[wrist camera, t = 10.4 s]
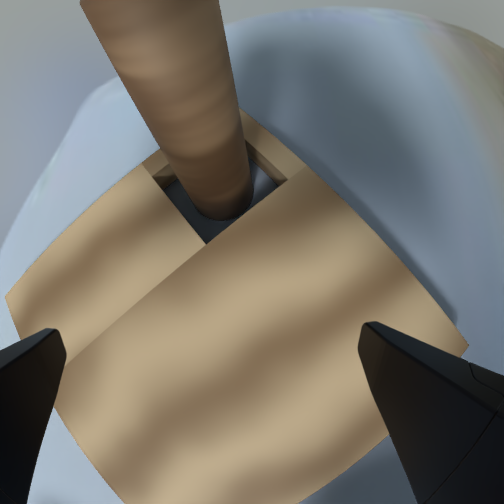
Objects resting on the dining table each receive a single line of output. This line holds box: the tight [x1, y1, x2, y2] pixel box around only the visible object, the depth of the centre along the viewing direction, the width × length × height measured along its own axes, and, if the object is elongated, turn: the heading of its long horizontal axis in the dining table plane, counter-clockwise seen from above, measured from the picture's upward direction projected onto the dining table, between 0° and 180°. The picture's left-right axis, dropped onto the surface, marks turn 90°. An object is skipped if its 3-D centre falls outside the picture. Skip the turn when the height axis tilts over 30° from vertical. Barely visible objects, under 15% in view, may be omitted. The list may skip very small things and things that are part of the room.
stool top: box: [5, 108, 469, 504], centre depth 16 cm, size 22×22×2 cm
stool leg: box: [80, 0, 253, 221], centre depth 13 cm, size 4×4×15 cm
